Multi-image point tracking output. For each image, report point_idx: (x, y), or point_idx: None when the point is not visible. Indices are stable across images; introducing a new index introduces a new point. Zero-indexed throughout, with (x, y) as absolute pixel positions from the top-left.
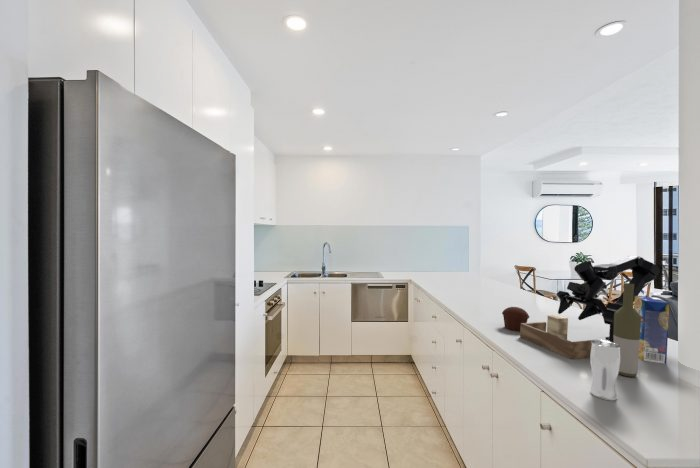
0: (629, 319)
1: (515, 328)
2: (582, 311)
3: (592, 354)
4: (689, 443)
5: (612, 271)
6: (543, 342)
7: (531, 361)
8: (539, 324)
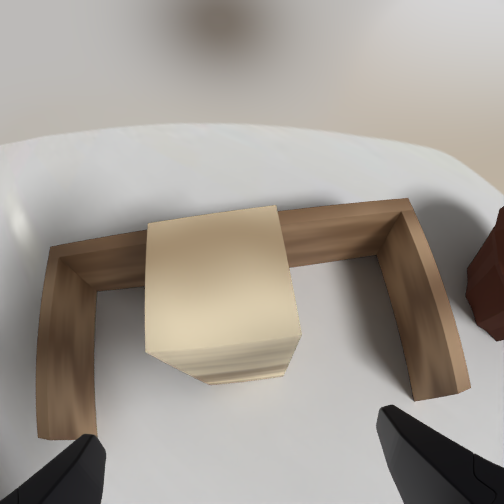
0: None
1: (473, 267)
2: (41, 494)
3: None
4: None
5: None
6: None
7: (125, 146)
8: (438, 335)
